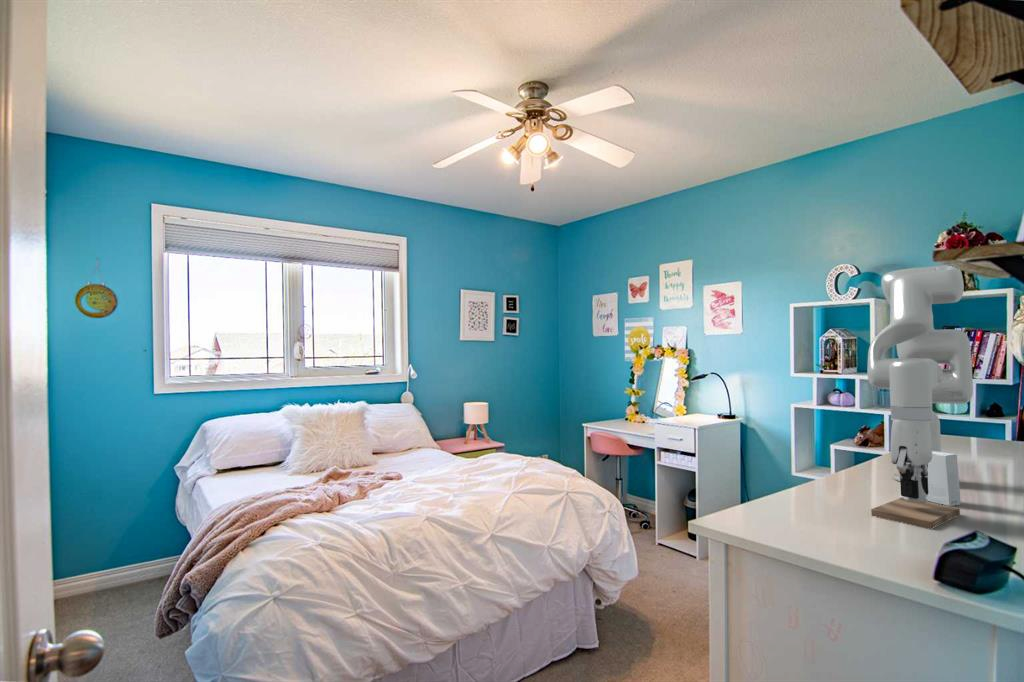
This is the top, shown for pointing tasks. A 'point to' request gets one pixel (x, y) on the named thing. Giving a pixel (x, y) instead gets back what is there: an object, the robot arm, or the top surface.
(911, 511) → the walnut board
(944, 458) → the skincare box
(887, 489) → the top surface
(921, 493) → the rook chess piece
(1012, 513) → the top surface
